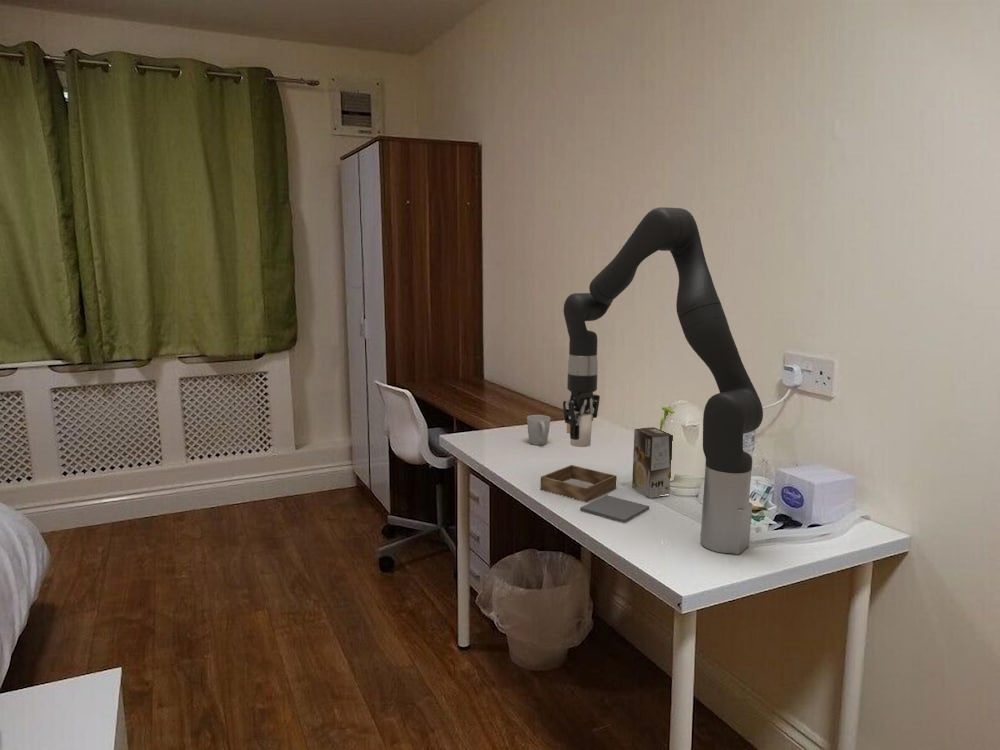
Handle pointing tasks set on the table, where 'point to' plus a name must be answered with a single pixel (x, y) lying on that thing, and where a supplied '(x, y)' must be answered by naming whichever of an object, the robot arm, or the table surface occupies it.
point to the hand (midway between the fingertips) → (580, 436)
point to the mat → (615, 508)
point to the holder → (557, 486)
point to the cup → (538, 429)
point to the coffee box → (652, 461)
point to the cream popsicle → (582, 431)
